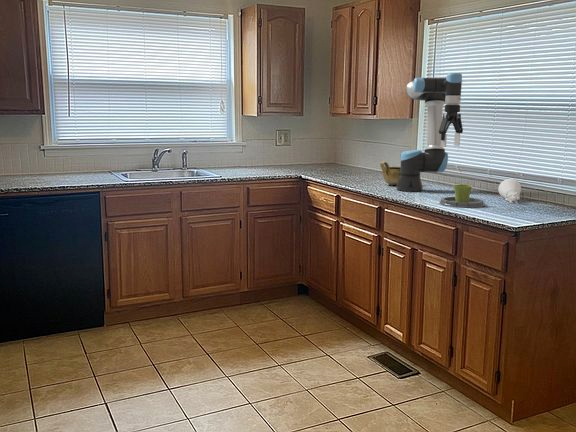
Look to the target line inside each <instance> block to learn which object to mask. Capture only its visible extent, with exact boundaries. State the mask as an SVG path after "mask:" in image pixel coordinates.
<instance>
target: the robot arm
mask: <svg viewBox="0 0 576 432" xmlns="http://www.w3.org/2000/svg"><path fill="white" fill-rule="evenodd" d="M462 83H463V74H462V73H460V72H449V73H447V74H446V77H415V78H414V79H413V80H411V81H410V82H408V83H407V85H406V86H405V93H406V95H407V97H409V98H411V99H412V100H416V101H424V105H425V106H426V107H427V111H426V112H427V114H426V115H427V117H426V119H427V120H426V122H427V126H426V127H427V128H426V131H427V132H426V133H427V134H426V136H427V137H426V147H425V148H424V152H422V150H421V149H410V150H406V151H402V153H401V154H400V160H399V161H400V166H399V167H400V178H399V181H398V184H397V186H396V191H399V190H401V191H400V192H409V191H415V192H416V191H417V192H423V187H424V186H423V182H422V179H421V173H433V174H434V173H435V174H438V173H444V172H445V171H446V169H447V165H448V163H449V154H448V152H446V149H445V148H446V147H447V135H448V134H447V131H448V130H449V128H450V125H453V128H454V131H455V133H454V139H453V140H454V143H453V146H455V147H457V146H458V147H460V142H461V134H463V131H464V127H463V124H462V123H463V122H462V114H461V113H460V111H461V105H460V104H461V99H462ZM443 106H444V112H445V113H443ZM415 192H414V193H415Z"/></svg>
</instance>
